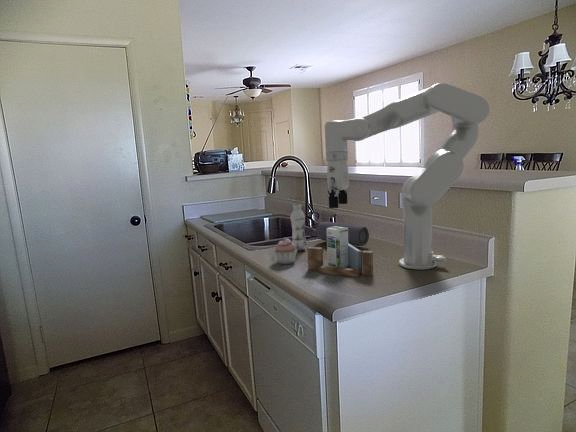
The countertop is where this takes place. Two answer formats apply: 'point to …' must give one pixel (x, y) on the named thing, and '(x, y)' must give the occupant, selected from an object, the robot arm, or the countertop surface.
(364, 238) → the bluetooth speaker
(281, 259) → the cupcake
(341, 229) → the syrup box
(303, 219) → the plastic bottle
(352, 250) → the door
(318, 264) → the door frame
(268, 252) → the countertop surface
